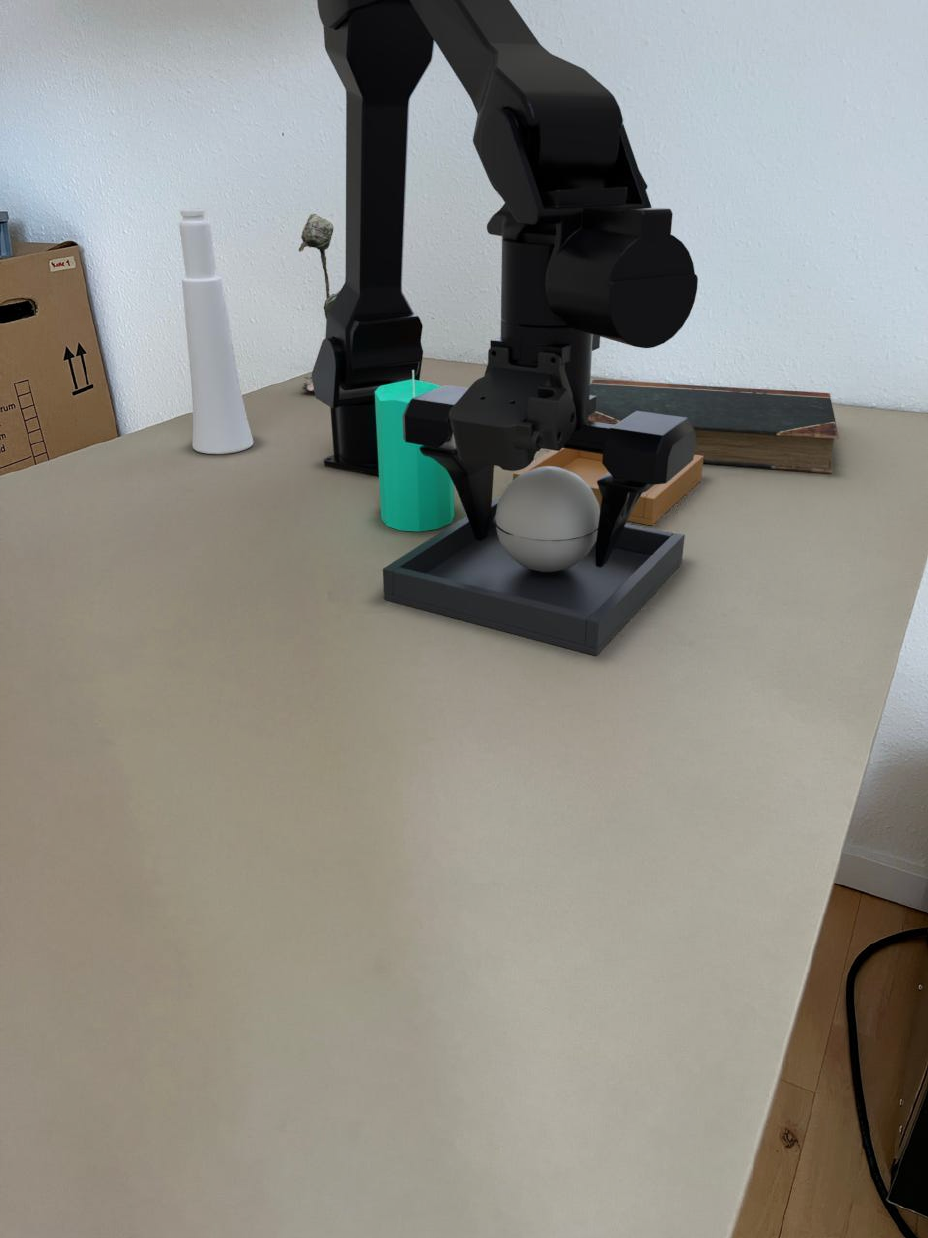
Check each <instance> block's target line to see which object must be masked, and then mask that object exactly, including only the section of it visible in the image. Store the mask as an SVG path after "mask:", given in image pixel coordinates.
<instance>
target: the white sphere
mask: <svg viewBox="0 0 928 1238" xmlns="http://www.w3.org/2000/svg"><path fill="white" fill-rule="evenodd" d="M499 499H500V500H499V502H498V504H497V510H496V515H495V516H494V519H493V522H494V524H495V526H496V529H497V535H498V538H499V540H500V542H501V544H502V546H503V548H504V549H505V551H506V553H507V554H508V555H509V556H511V557H512V558H513V559H514V560H515V561H516V562H518V563H519V564H520V565H521V566H523V567H525V568H528V569H531V570H535V571H540V572H555V571H560V570H565V569H568V568H570V567H572V566H574V565H575V564H576V563H578V562H579V561H580V560H582V559H583V558H584V557H585V556H586V555H587V554H588V553H589V552H590V550H591V548H592V547H593V545H594V544H595V542H596V539H597V531H598V524H599V516H600V507H599V503H598V501H597V499H596V497H595V495H594V493H593V491H592V489H591V488H590V486H589V485H588V484H587V483H586V482H585V481H584V480H583V479H582V478H581V477H579V476H578V475H576V474H575V473H573V472H570V471H568V470H565V469H562V468H559V467H553V466H544V467H538V468H535V469H532V470H529V471H527V472H524V473H522V474H520V475H519V476H518V477H517V478H515V479H514V480H513V479H512V481H510V482H509V483H508V485H506V487H505V489H504V491H503V493H502V494H501V496H500V498H499Z"/></svg>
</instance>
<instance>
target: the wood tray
mask: <svg viewBox="0 0 928 1238" xmlns="http://www.w3.org/2000/svg"><path fill="white" fill-rule="evenodd" d="M602 457H603V454H598V453H592V452H586V451H580V450H573V449H567V448H562V449H561V450H560V451H555V450H549V451H548V452H546V453H545V454H542V455H541V456H540V457H538V458H537V459H534V460H533V461H532V462H531V464H530V465H529V466H527V467H526V468H524V469H521V470H517V471H514V473H513V474H512V481H513V480H514V479H515V478H517V477H518V476H519V475H520V474H522V473H524V472H527V471H529V470H532V469H535V468H538V467H544V466H553V467H559V468H562V469H565V470H568V471H570V472H573V473H575V474H576V475H578V476H579V477H581V478H582V479H583V480H584V481H585V482H586V483H587V484H588V485H589V486H590V488H591V489H592V491H593V493H594V495H595V497H596V499H597V501H598V503H599V507H600V508H601V501H602V496H601V493H600V490H599V487H598V484H597V480H599V479H600V478H602V477H603V476H604V475H606V474H607V473H608V470H607V469H606V468H605V466H604V465H603V464H602ZM703 459H704V456H701V455H694V457H693V461H692V462H690V463H689V464H688V465H687V466H686V467H685V468H683V469H682V470H681V471H680V472H679V473H678V474H676V475H675V476H674V477H673V478H672V479H671V480H669V481H668V482H667V483H665V484H655V485H654V486H652V487H651V488H650V489H649V490H648V491H646V492H643V493H642V495H641V496H640V498H639V499H638V501H637V503H636V504H635V506H634V508H633V510H632V512H631V514H630V516H629V518H628V520H627V522H631V523H636V524H640V525H645V526H646V525H647V526H651V527H652V526H653V525H654V524H655V523H657V521H658V520H660V519H661V518H663V516H664V515H665V514H666V513H667V512H669V510H671V509H672V508H673V507H674V506H675V505H676V504H677V503H678V502H679V501H680V500H682V498H683V497H685V496H686V495H687V494H688V493H689V492H690V491H691V490H692V489H693V488H694V487H696V485H698V484H699V483H700V482H701V481H702V478H703V477H702V476H703V467H704V463H703Z"/></svg>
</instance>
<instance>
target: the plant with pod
mask: <svg viewBox="0 0 928 1238" xmlns="http://www.w3.org/2000/svg"><path fill="white" fill-rule="evenodd" d="M334 229H335V228H334V225H333V223H332V222H330V221H329V220H327V219H326V218H322V217H321V216H320V215H318V214H317V213H311V214H309V216H308V218H307V220H306V221H305V224H304V227H303V229H302V231H301V236H300V237H301V240H302V242H301V244H300V247H299V248H298V252H303V251H304V249H305V248H306V247H309V248H315V249H317V250H319V252H320V260H321V264H322V269H323V273H324V283H325V291H326V292H325V295H326V299H325V301H324V304H323V311H324V318H325V320H326V319H327V312H328V310H329V308H330V307H331V305H332V303H333V302H334V300H335V298H336V297H337V295H338V293H339V292H340V290H339V291H337V292H336V293H332V294H330V282H329V274H328V271H327V270H328V269H327V257H326V256H327V255H326V250H328V249H329V247H330V245H331V241H332V236H333V233H334ZM303 378H304V379H305V382H304V383H303V386H301V387H302V388H301V389H302V390H304V391H310V392H314V387H313V382H312V376H310V377H308V376H307V377H306V376H305V377H303Z"/></svg>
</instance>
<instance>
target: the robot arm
mask: <svg viewBox="0 0 928 1238" xmlns="http://www.w3.org/2000/svg"><path fill="white" fill-rule="evenodd" d="M316 2H317V11H318V16H319V19H320V21H321V24H322V26H323V43H324V49H325V52H326V54H327V56H328V59H329V60H330V62H331V64H332V66H333V68H334V70H335V72H336V74H337V76H338V77H339V80H340V81H341V83H342V85H343V87H344V89H345V102H346V103H345V114H346V115H345V123H346V124H345V278H344V279H345V280H344V284H343V285H342V287H341V288H340V290H339V291H340V292H339V291H338V292H339V293H338V292H337V293H338V295H337V297H336V298H335V300H334V302H333V303H332V305H331V307H330V308H329V310H328V312H327V319H326V318H325V321H326V323H325V336H324V338H323V340H322V342H321V344H320V347H319V351H318V352H317V353H318V354H317V357H316V359H315V362H314V366H313V369H312V372H311V377H312V382H313V387H314V391H313V392H314V396H315V398H316V399H317V400H318V401H320V402H321V403H323V404H325V405H326V406H328V407H329V410H330V411H329V412H330V424H331V425H330V426H331V438H332V450H333V454H332V455H329V456H327V457H324V458H323V465H324V466H329V467H335V468H339V469H345V470H351V471H355V472H360V473H365V474H371V475H379V465H378V446H377V427H376V407H375V391H376V390H377V389H378V387H379V386H382V385H386V384H391V383H396V382H401V381H406V380H411V379H412V370H414V380H419V381H421V372H422V364H423V359H424V358H423V357H424V348H423V345H422V335H423V327H424V325H423V323H422V320H421V318H420V317H419V315H416V314H415V313H414V310H413V309H412V307H411V305H410V304H409V302H408V300H407V298H406V296H405V294H404V292H403V270H404V268H403V267H404V246H405V245H404V244H405V241H404V240H405V219H406V218H405V216H406V198H407V197H406V194H407V169H408V145H409V144H408V143H409V122H410V120H409V118H410V117H409V116H410V102H411V98H412V96H413V94H414V93H415V91H416V89H417V88H418V86H419V84H420V82H421V81H422V79H423V77H424V76H425V74H426V72H427V70H428V69H429V67H430V66H431V64H432V62H433V58H434V51H435V45H436V46H437V47H438V49H439V50H440V53H442V55H443V57H444V58H445V60H446V61H447V63H448V64H449V67H450V68H451V69H452V71H453V72H454V74H455V76H456V77H457V79H458V81H459V82H460V84H461V86H462V87H463V89H465V92H466V93H467V95H468V96H469V98H470V100H471V102H472V104H473V106H474V109H475V111H476V113H477V115H476V120H475V125H474V131H473V136H472V144H473V146H474V149H475V150H476V153H477V155H478V158H479V160H480V162H481V165H482V167H483V169H484V171H485V174H486V176H487V178H488V180H489V183H490V184H491V186H492V188H493V189H494V191H495V192H496V193H497V195H498V196H499V197H500V198H501V199H502V201H503V202H504V203H503V205H502V207H501V208H500V209H499V210H497V211H496V212H495V213H494V214H493V215H492V216H491V217H490V218H489V221H488V222H487V223H486V231H487V233H488V235H491V236H498V237H501V256H500V257H501V258H500V259H501V265H500V266H501V268H500V269H501V270H500V291H501V292H500V336H499V337H496V338H493V339H491V340H490V345H489V349H488V352H487V365H486V369H485V372H484V375H483V376H482V377H480V378H478V379H476V380H475V381H474V382H473V383H472V384H471V385H470V386H469V387H463V386H457V385H448V384H444V385H441V386H442V387H439V388H437V389H434V390H432V391H429V392H427V393H425V394H422V395H420V396H417V397H415V398H412V399H411V400H410V402H409V403H408V404H407V406H406V408H405V411H404V413H403V416H402V418H403V439H404V440H405V442H408V443H414V444H420V445H423V446H421V447H420V448H419V449H420V451H421V453H422V454H423V455H424V456H428V457H431V458H433V459H434V460H435V461H437V462H438V463H439V464H440V465H442V466H443V467H444V468H445V469H446V470H447V472H448V473H449V475H450V477H451V479H452V481H453V483H454V488H455V490H456V492H457V494H458V497H459V500H460V502H461V505H462V508H463V511H464V512H465V515H466V516H467V518H468V520H469V523H470V526H471V528H472V531H473V534H474V536H475V539H476V540H478V541H482V540H484V539H485V538H487V536H488V531H489V525H490V520H491V510H492V499H493V491H494V489H493V488H494V472H495V467H496V466H497V467H499V468H500V469H501V470H504V471H508V472H517V471H518V470H521V469H524V468H526V467H527V466H529V465H530V464H531V462H533V461H535V456H536V454H537V452H540V450H542V449H543V450H549V451H551V450H555V451H560V450H561V449H562V448H567V449H573V450H580V451H586V452H592V453H598V454H603V457H602V464H603V465H604V466H605V468H606V469H607V470H608V473H607V474H606V475H604V476H603V477H602V478H600V479H599V480H597V484H598V487H599V490H600V493H601V496H602V501H601V508H600V516H599V524H598V531H597V539H596V547H595V560H596V566H597V567H603V566H604V565H605V564H606V563H607V561H608V559H609V557H610V555H611V553H612V551H613V549H614V547H615V544H616V542H617V540H618V538H619V536H620V534H621V532H622V530H623V528H624V526H625V524H627V522H628V521H627V520H628V518H629V516H630V514H631V512H632V510H633V508H634V506H635V504H636V503H637V501H638V499H639V498H640V496H641V495H642V493H643V492H646V491H648V490H649V489H650V488H651V487H652V486H654V485H655V484H665V483H667V482H668V481H669V480H671V479H672V478H673V477H674V476H675V475H676V474H678V473H679V472H680V471H681V470H682V469H683V468H685V467H686V466H687V465H688V464H689V463H690V462H692V461H693V457H694V448H695V439H696V434H695V431H694V428H693V426H692V425H691V423H690V421H689V420H688V418H686V417H678V416H671V415H663V414H656V413H649V412H641V411H636V412H634V413H632V414H631V415H629V416H628V417H626V418H625V419H623V420H621V421H620V422H618V423H617V424H615V425H614V424H607V423H600V422H593V421H588V416H589V415H590V414H592V413H594V412H595V411H596V400H597V396H592V395H590V384H591V378H592V377H591V375H592V374H591V373H592V356H593V352H594V351H595V350H598V349H600V348H601V347H600V346H601V338H604V339H607V340H610V341H614V342H617V343H620V344H625V345H628V346H632V347H635V348H641V349H652V348H653V349H654V348H656V347H658V346H661V345H663V344H665V343H667V342H668V341H669V340H671V339H673V338H674V337H675V335H676V334H677V333H678V332H679V331H680V330H681V329H682V328H683V326H684V325H685V323H686V322H687V320H688V319H689V317H690V316H691V313H692V310H693V307H694V305H695V301H696V297H697V291H698V284H699V283H698V281H699V278H698V275H697V274H696V272H695V265H694V262H693V259H692V256H691V254H690V251H689V250H688V248H687V246H686V245H685V244H684V242H683V241H682V240H680V239H679V238H677V237H676V236H675V235H674V234H672V225H673V211H672V209H671V208H667V207H652V204H651V202H650V198H649V195H648V192H647V189H648V187H649V186H648V184H647V183H646V181H645V178H644V177H643V175H642V173H641V171H640V169H639V166H638V163H637V159H636V156H635V154H634V151H633V149H632V146H631V143H630V140H629V137H628V134H627V131H626V128H625V125H624V118H623V114H622V110H621V108H620V107H621V106H620V105H619V103H618V101H617V99H616V97H615V95H614V94H613V93H612V92H611V91H610V90H609V89H608V88H607V87H606V86H604V85H603V84H602V83H601V82H600V81H598V80H597V79H596V78H595V77H594V76H593V75H592V74H591V73H589V72H588V71H587V70H586V69H584V68H583V67H581V66H579V65H576V64H574V63H572V62H570V61H568V60H566V59H564V58H562V57H559V56H557V55H554V54H553V53H551V52H550V51H549V50H547V49H546V48H545V47H544V46H543V45H542V44H541V43H540V41H539V40H538V39H537V37H536V36H535V34H534V33H533V32H532V31H531V29H530V28H529V26H528V25H527V23H526V22H525V20H524V19H523V18H522V16H521V15H520V12H518V10H517V9H516V7H515V6H514V4H513V3H512V2H511V0H317V1H316Z"/></svg>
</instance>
